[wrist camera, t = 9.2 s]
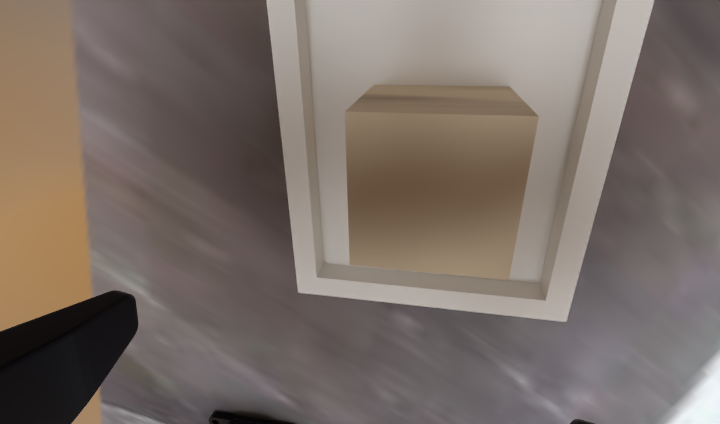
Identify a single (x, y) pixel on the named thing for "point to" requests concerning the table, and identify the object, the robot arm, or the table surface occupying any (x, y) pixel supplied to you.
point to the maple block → (437, 177)
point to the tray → (456, 68)
